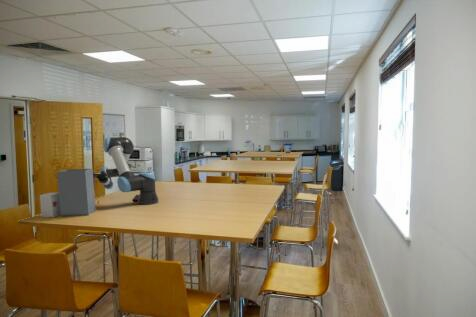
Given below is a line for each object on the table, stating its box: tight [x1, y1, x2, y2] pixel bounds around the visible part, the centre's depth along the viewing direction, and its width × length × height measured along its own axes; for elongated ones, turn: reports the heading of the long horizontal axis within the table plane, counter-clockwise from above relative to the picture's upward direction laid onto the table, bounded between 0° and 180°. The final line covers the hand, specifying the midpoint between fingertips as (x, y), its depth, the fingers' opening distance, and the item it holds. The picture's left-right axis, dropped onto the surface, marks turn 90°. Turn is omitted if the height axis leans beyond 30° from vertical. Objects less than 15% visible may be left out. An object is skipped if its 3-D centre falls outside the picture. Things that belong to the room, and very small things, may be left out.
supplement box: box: [39, 192, 61, 218], centre depth 222 cm, size 9×9×15 cm
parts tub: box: [56, 168, 96, 218], centre depth 224 cm, size 18×13×30 cm
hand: (95, 169), depth 259 cm, fingers open, 13 cm apart
